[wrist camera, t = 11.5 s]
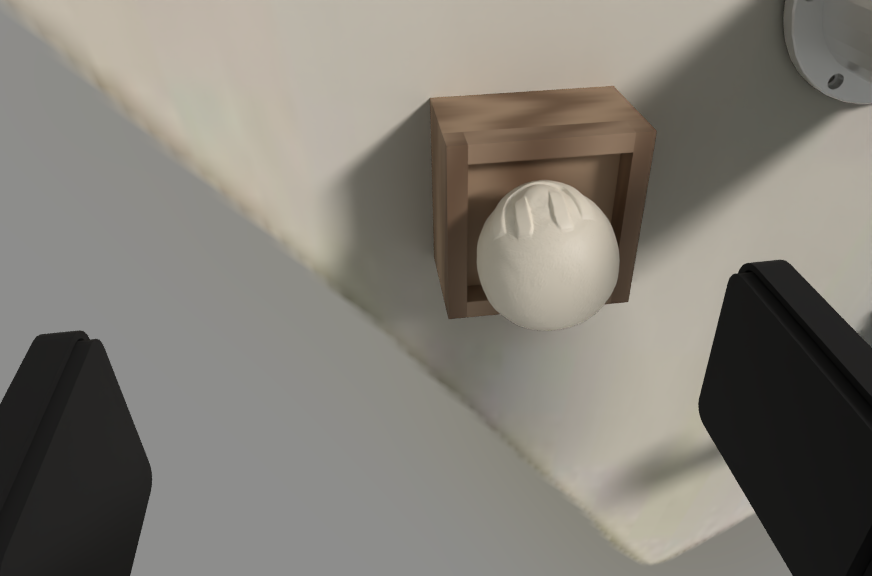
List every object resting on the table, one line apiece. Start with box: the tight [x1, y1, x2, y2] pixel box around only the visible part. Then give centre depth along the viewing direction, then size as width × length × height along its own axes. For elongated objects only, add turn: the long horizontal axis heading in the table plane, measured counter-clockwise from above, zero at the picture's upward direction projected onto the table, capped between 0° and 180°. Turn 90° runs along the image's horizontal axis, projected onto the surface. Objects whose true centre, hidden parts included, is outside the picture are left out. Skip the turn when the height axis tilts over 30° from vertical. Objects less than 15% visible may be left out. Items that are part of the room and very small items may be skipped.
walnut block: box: [430, 86, 657, 319], centre depth 39 cm, size 10×10×6 cm
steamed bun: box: [477, 180, 620, 331], centre depth 35 cm, size 7×7×7 cm
